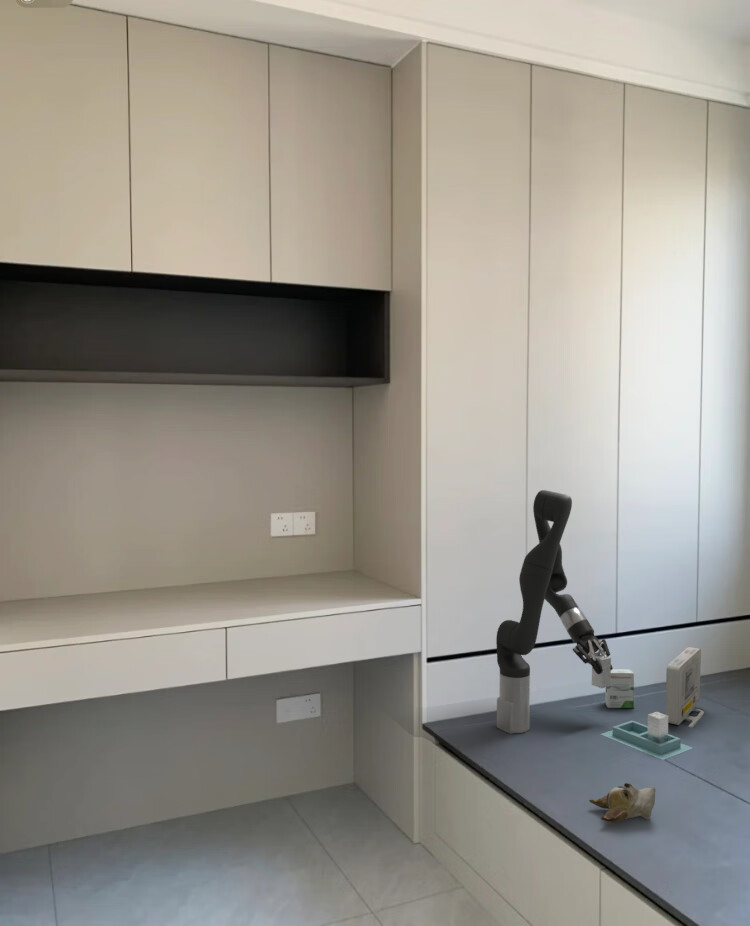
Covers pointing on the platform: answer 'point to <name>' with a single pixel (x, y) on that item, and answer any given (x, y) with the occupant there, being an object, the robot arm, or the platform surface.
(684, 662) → the network device
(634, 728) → the teal flat tray
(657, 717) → the block
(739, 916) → the platform surface
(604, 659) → the block
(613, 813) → the ceramic sculpture
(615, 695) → the ink box
